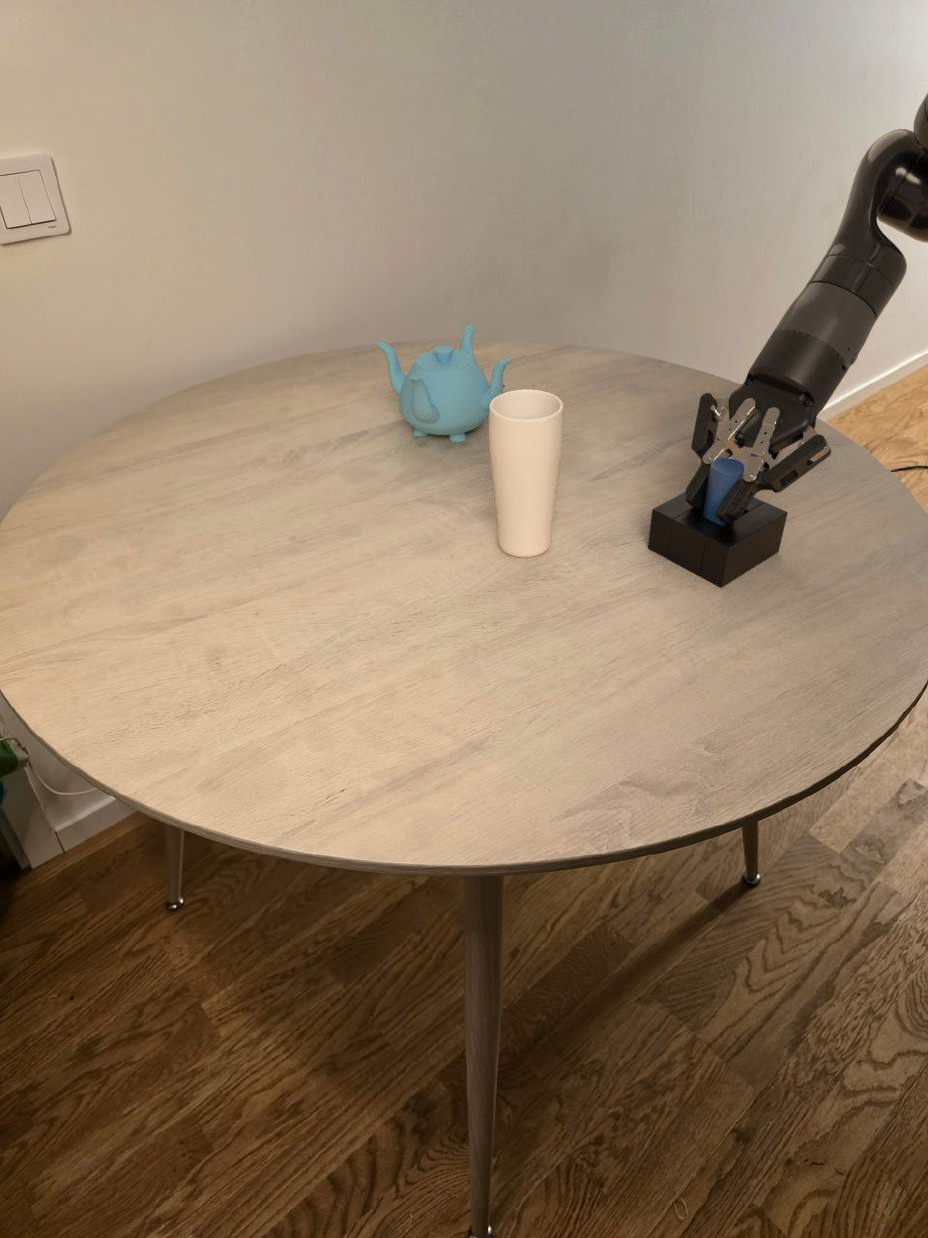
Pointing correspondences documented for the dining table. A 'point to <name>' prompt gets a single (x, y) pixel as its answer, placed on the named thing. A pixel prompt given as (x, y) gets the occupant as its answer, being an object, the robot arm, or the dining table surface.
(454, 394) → the teapot
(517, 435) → the drinking glass
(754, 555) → the holder
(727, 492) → the handle
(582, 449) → the dining table surface
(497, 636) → the dining table surface
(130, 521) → the dining table surface
